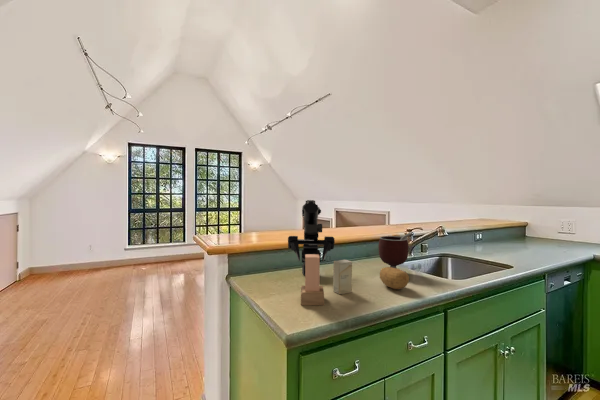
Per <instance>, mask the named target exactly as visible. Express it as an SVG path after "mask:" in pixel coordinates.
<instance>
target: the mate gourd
mask: <svg viewBox="0 0 600 400" xmlns="http://www.w3.org/2000/svg"><path fill="white" fill-rule="evenodd" d="M412 235H413V232H409V233H407V234H404V235H403V236H395V235H386V236H385V235H382V236H379V240H378V255H379V258H380V260H381V261H382V262H383V263H384V264H386V265H389V267H392V268H397V266H400V265H403V264H405V262H406V261H407V259H408V258H409V252H410V251H409V249H410V248H409V241H408V237H409V236H412ZM401 270H402V271H404V272H406V271H405V270H403V269H401ZM380 271H381V269H380ZM380 271H379V272H380Z"/></svg>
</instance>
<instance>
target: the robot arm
mask: <svg viewBox="0 0 600 400" xmlns="http://www.w3.org/2000/svg"><path fill="white" fill-rule="evenodd" d="M301 208H302V209H301V215H302V217H303V221H304V222H303V224H304V225H303V239H302V238H298V237H299V236H298V235H289V236H287V247H288V249H290V250H291V251H294V254H295V255H296V258H297V260H298V262H301V263H303V264H301V265H302V266H301V268H302V269H301V270H302V272H301V273H302V274H303V276H305V254H319V257H320V263H321V262H324V261H325V258H326V255H327V254H328V252H331V250H334V248H335V238H334V237H333V236H325V235H324V237H323V238H324V239H319V233H323V223H319V222H318V219H319V216H320V215H321V213H322V210H321V208H320V207H319V205H318V204H316V200H314V199H313V200H311V199H307V200H305V203H304V204H303V205H302V207H301ZM299 245H303V247H302V249H301V255H300V246H299ZM319 246H323V248H322V249H323V250H322V252H321V251H320V249H319ZM321 257H322V258H321ZM321 260H322V261H321Z"/></svg>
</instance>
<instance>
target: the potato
mask: <svg viewBox="0 0 600 400" xmlns="http://www.w3.org/2000/svg"><path fill="white" fill-rule="evenodd" d="M380 270H381V271H379V279H380V280H381V282H382V284H383V285H384V286H386V287H389V288H391V289H393V290H401V289H404V288H406V287H407V285H408V284H409V282H410V276H409V274H408V273H407V272H406V271H405V270H403V269H400V268H397V267H396V268H392V267H390V266H386V267H382V268H381V269H380ZM402 270H403V271H402ZM404 271H405V272H404Z"/></svg>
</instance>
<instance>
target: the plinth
mask: <svg viewBox="0 0 600 400" xmlns="http://www.w3.org/2000/svg"><path fill="white" fill-rule="evenodd" d="M300 305H301V306H325V291H324V286H323V285H320V291H305V285H301V286H300Z"/></svg>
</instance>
